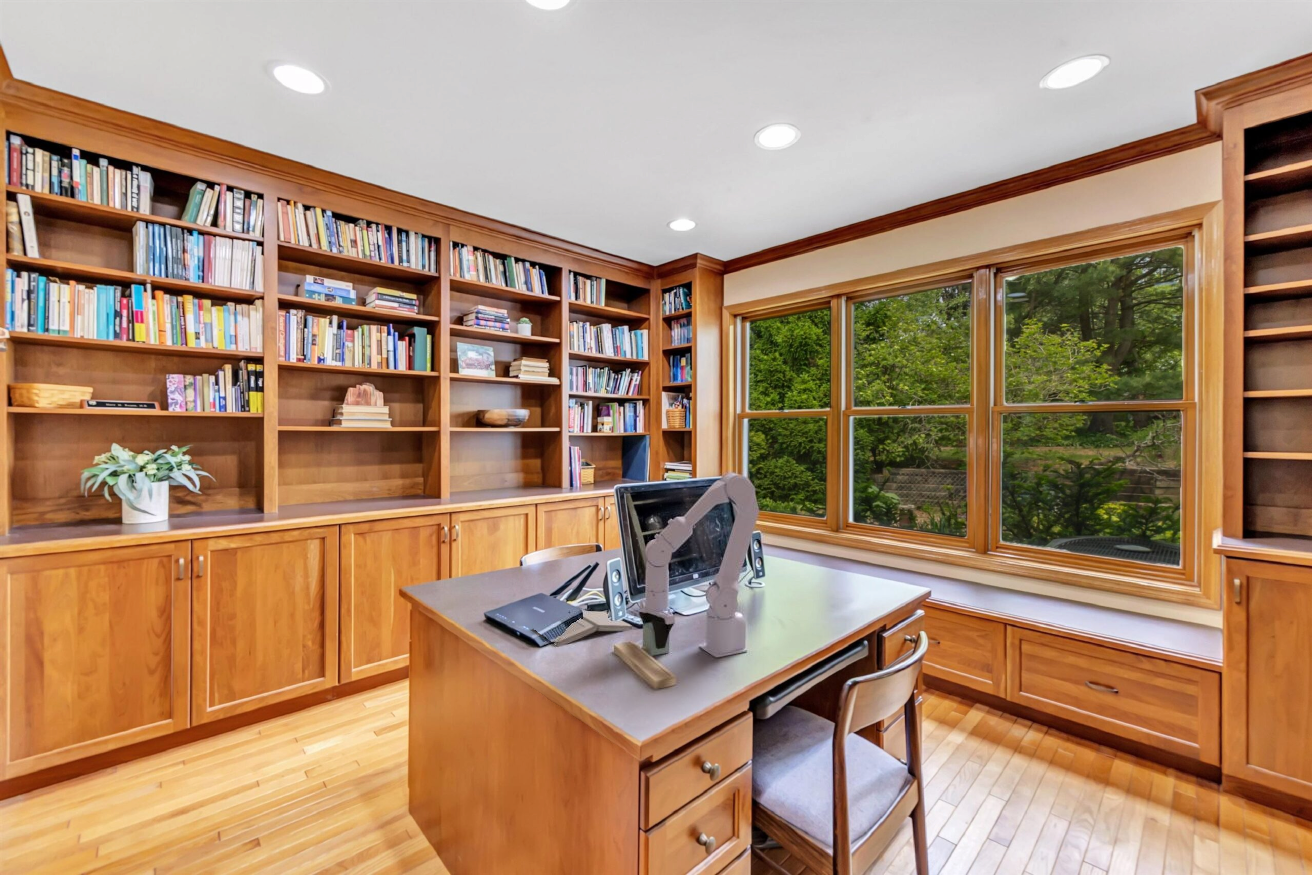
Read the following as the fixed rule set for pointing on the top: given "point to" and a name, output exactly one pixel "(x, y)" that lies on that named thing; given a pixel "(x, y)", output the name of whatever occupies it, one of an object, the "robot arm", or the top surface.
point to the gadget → (590, 627)
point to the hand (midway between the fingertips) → (655, 644)
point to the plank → (645, 665)
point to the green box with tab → (652, 641)
